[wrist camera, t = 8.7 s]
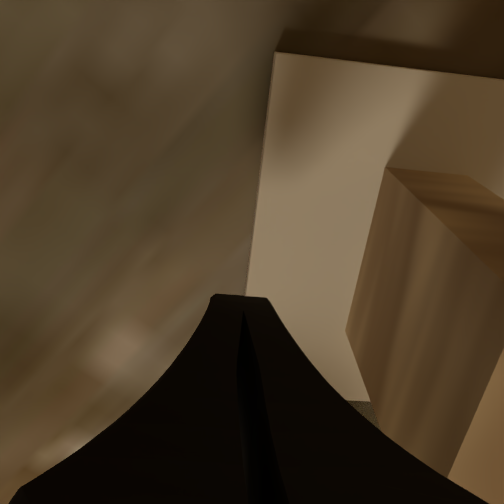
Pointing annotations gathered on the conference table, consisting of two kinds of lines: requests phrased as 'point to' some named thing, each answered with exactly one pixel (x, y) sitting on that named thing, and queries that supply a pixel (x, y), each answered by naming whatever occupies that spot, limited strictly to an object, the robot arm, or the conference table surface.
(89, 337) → the conference table surface
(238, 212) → the conference table surface
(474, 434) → the wooden block
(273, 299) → the mat
